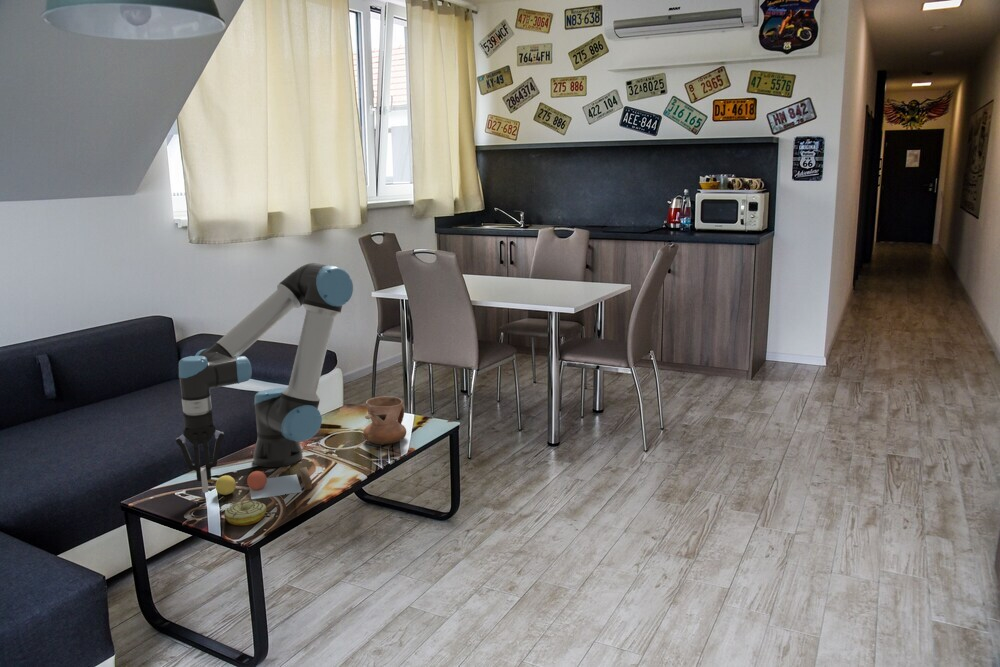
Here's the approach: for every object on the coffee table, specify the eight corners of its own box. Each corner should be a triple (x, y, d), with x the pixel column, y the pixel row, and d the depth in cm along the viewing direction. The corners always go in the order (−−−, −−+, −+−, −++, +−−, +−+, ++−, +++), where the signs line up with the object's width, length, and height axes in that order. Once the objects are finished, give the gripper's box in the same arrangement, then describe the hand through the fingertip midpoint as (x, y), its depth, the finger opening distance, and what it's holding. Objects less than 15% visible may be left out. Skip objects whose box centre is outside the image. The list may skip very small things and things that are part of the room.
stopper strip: (307, 474, 240) (306, 466, 240) (312, 489, 229) (311, 481, 229) (300, 475, 240) (299, 467, 239) (305, 490, 229) (304, 482, 228)
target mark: (296, 474, 240) (296, 474, 240) (301, 492, 227) (301, 491, 227) (248, 481, 236) (248, 481, 236) (251, 499, 223) (251, 499, 223)
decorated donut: (262, 507, 218) (261, 494, 217) (270, 522, 209) (269, 509, 208) (223, 515, 213) (221, 502, 213) (229, 531, 204) (228, 517, 203)
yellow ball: (211, 479, 227) (221, 494, 229) (211, 486, 222) (222, 501, 224) (229, 469, 229) (239, 483, 230) (229, 475, 223) (239, 491, 225)
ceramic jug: (382, 452, 258) (381, 410, 256) (352, 443, 267) (350, 402, 264) (419, 437, 273) (419, 398, 270) (389, 429, 281) (388, 391, 278)
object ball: (252, 489, 232) (269, 479, 233) (253, 496, 227) (271, 486, 228) (243, 474, 230) (260, 464, 232) (244, 481, 225) (261, 471, 227)
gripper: (171, 418, 214) (180, 499, 219) (222, 412, 219) (230, 492, 223) (172, 410, 221) (181, 489, 226) (221, 405, 225) (229, 482, 230)
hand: (205, 490), depth 225 cm, fingers closed
